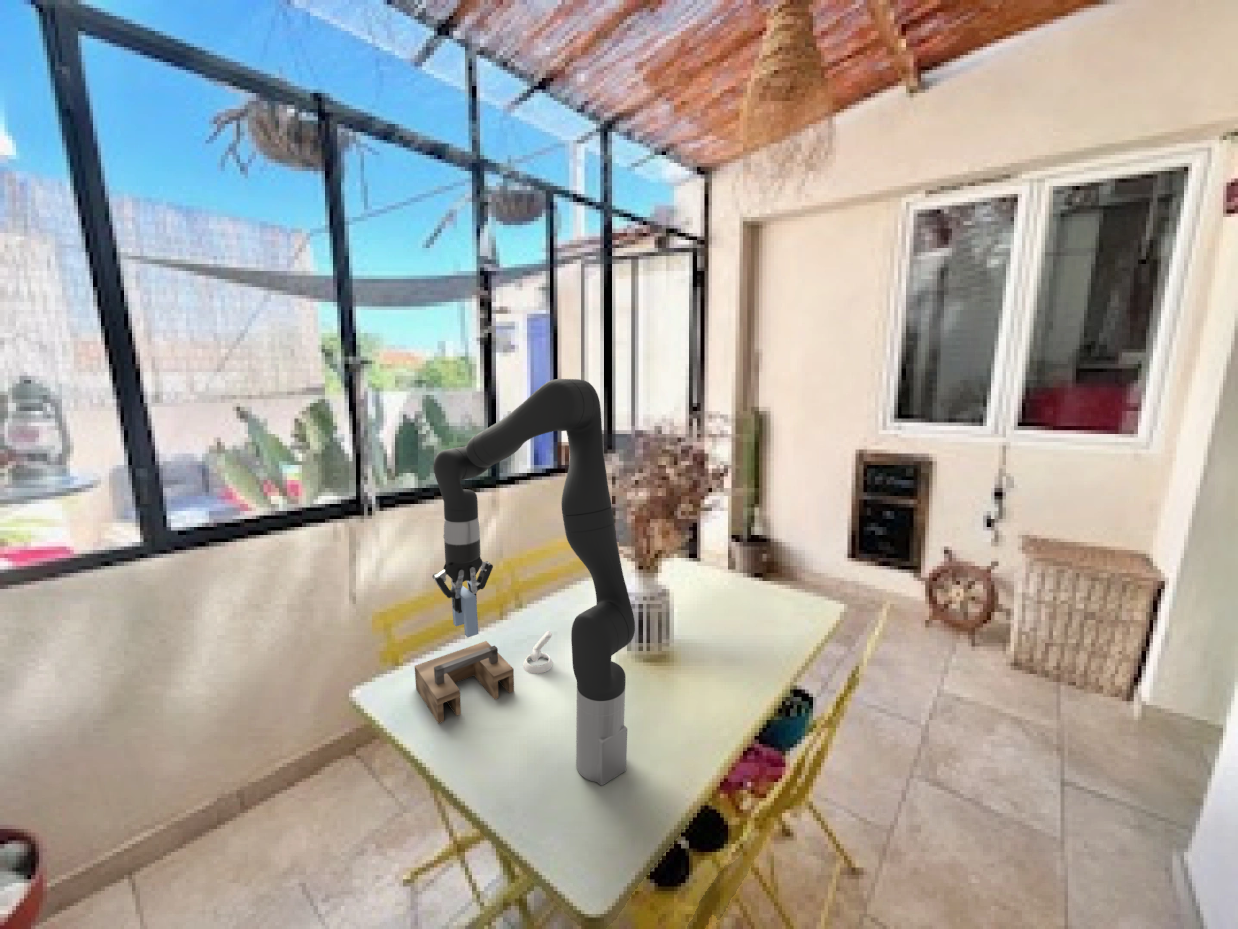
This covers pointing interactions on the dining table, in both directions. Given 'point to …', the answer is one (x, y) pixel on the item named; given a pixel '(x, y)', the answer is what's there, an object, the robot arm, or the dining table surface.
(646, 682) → the dining table surface
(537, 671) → the mortar and pestle
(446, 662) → the wooden stand with handle
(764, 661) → the dining table surface
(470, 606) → the blue arch block
